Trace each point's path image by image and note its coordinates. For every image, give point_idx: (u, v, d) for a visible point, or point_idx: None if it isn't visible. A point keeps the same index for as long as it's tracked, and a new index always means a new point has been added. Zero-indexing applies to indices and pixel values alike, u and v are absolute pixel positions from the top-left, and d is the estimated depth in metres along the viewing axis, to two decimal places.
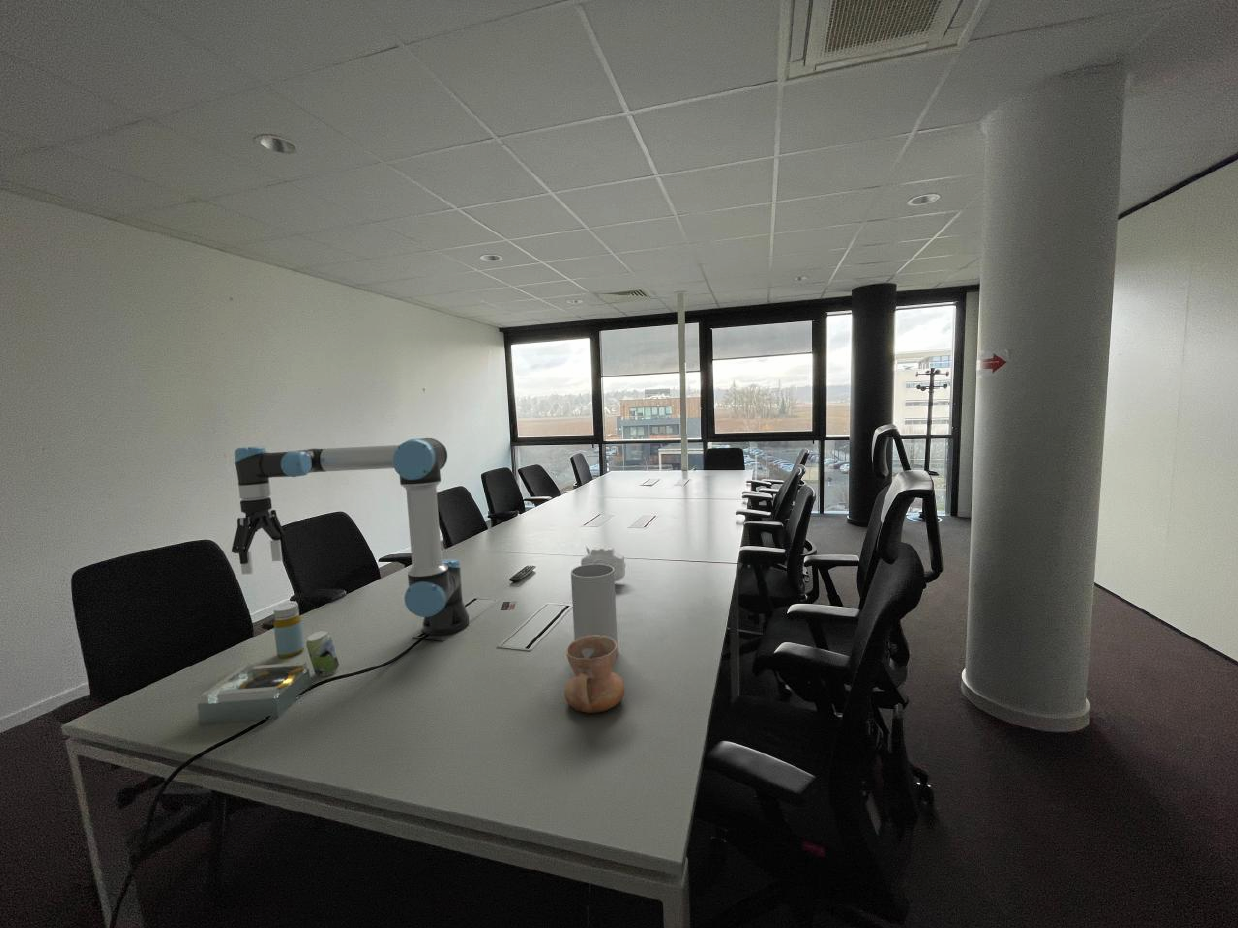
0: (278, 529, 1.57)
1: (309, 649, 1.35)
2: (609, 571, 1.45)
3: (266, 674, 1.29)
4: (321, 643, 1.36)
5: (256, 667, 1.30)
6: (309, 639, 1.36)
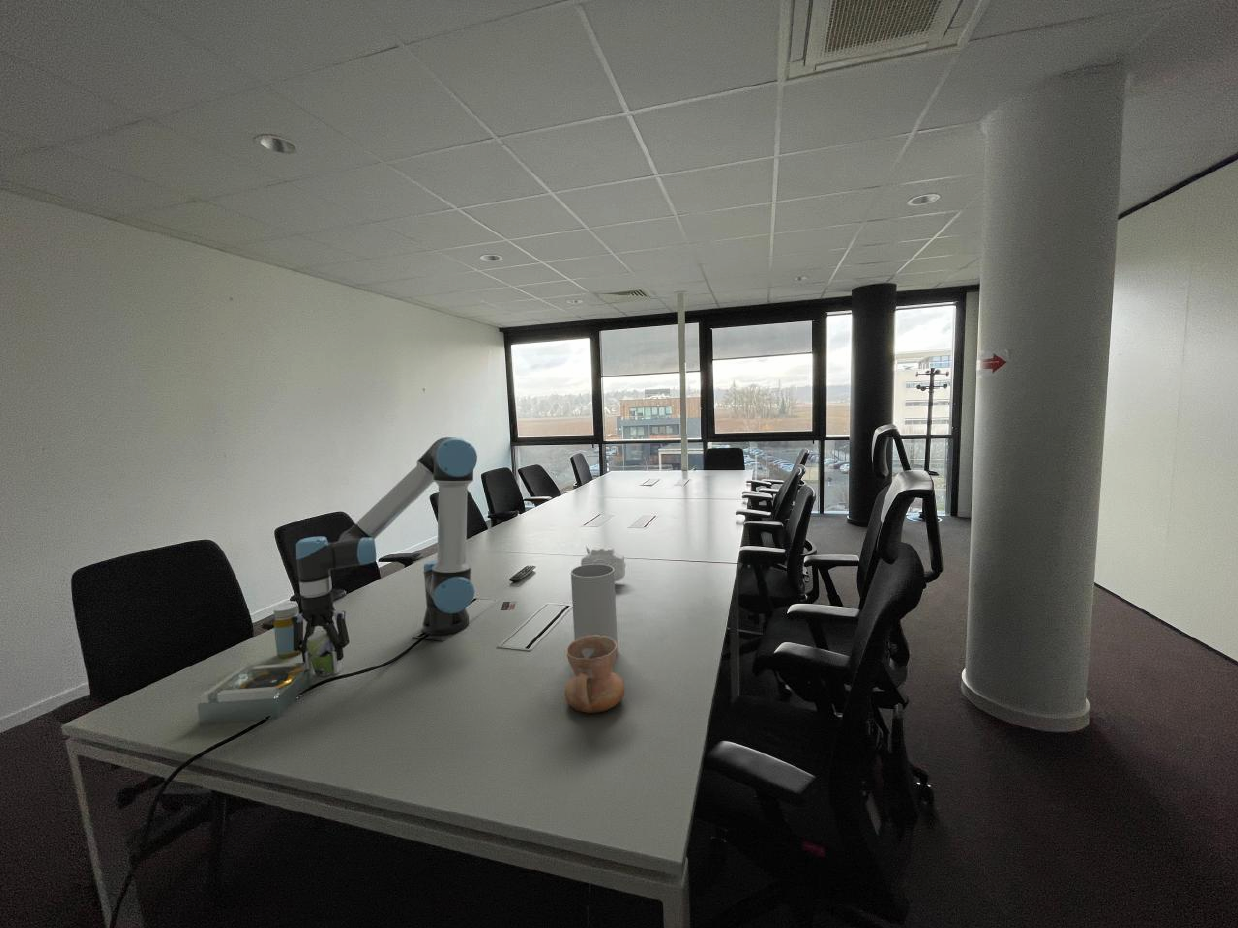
0: None
1: (309, 649, 1.35)
2: (609, 571, 1.45)
3: (266, 674, 1.29)
4: (321, 643, 1.36)
5: (256, 667, 1.30)
6: (309, 639, 1.36)
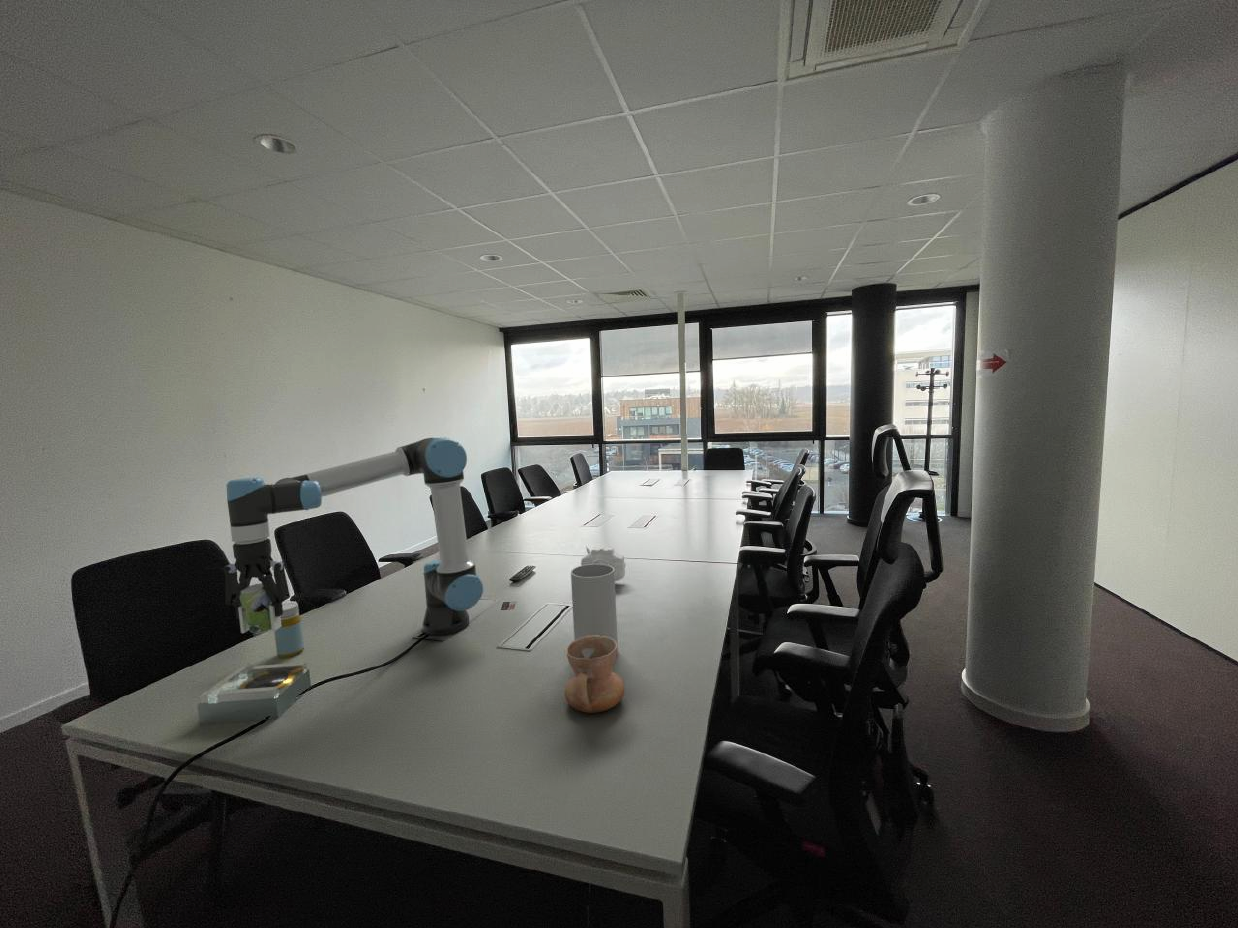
0: None
1: (242, 603, 1.21)
2: (609, 571, 1.45)
3: (266, 674, 1.29)
4: (256, 596, 1.21)
5: (256, 667, 1.30)
6: (242, 591, 1.21)
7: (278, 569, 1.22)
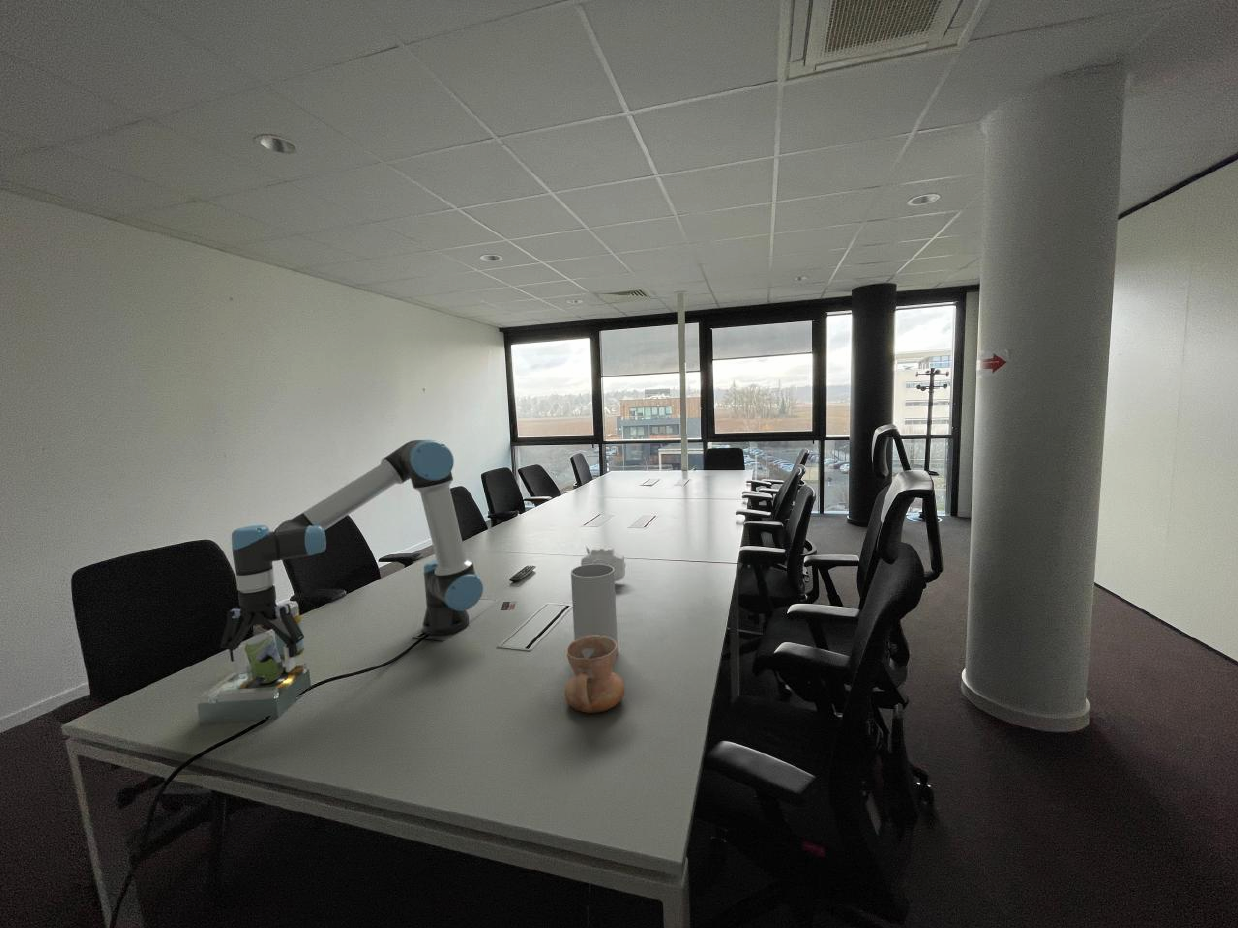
0: None
1: (248, 654, 1.21)
2: (609, 571, 1.45)
3: None
4: (261, 647, 1.22)
5: None
6: (248, 643, 1.22)
7: (284, 612, 1.23)
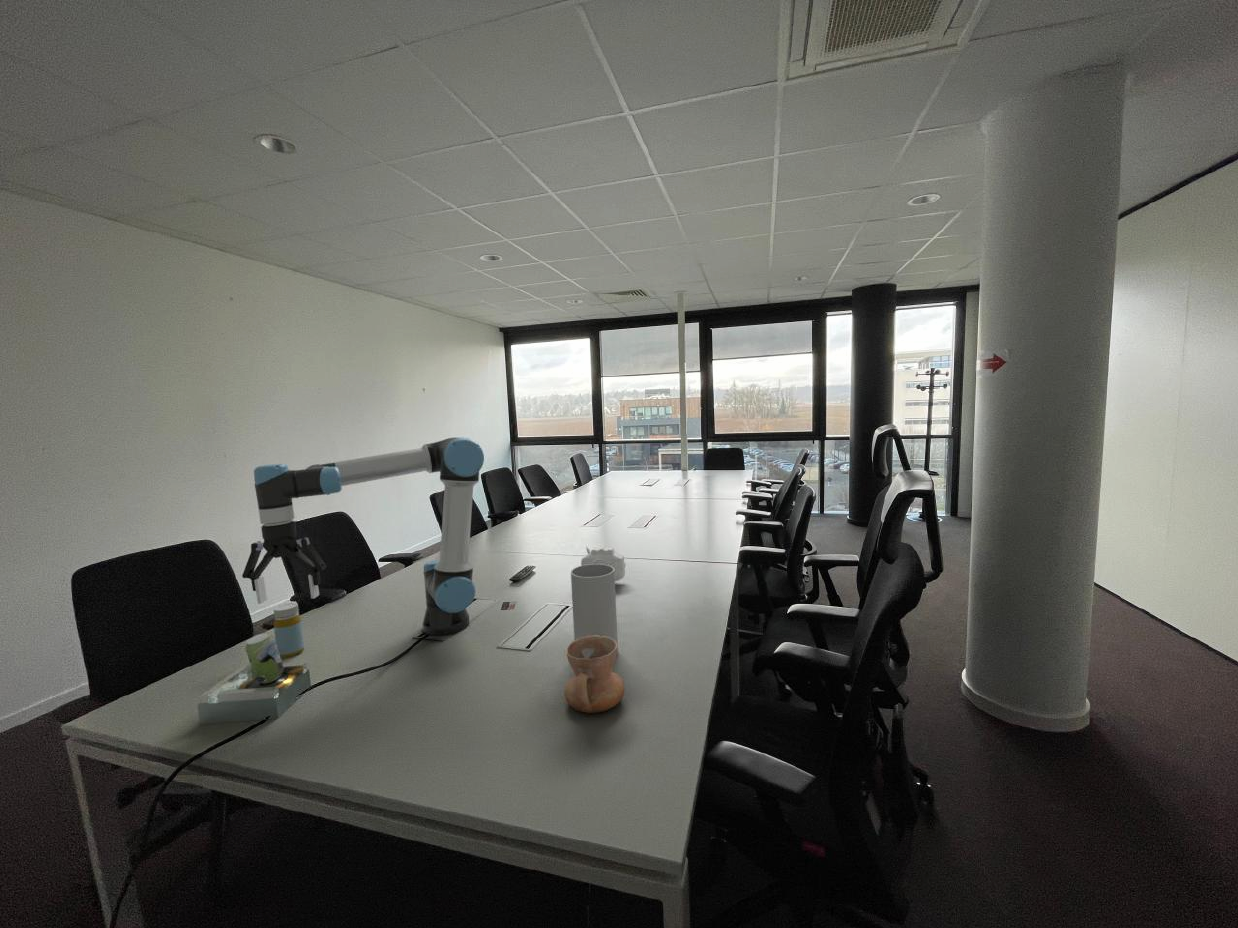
0: None
1: (248, 653, 1.22)
2: (609, 571, 1.45)
3: None
4: (262, 647, 1.22)
5: None
6: (248, 642, 1.22)
7: (305, 543, 1.31)
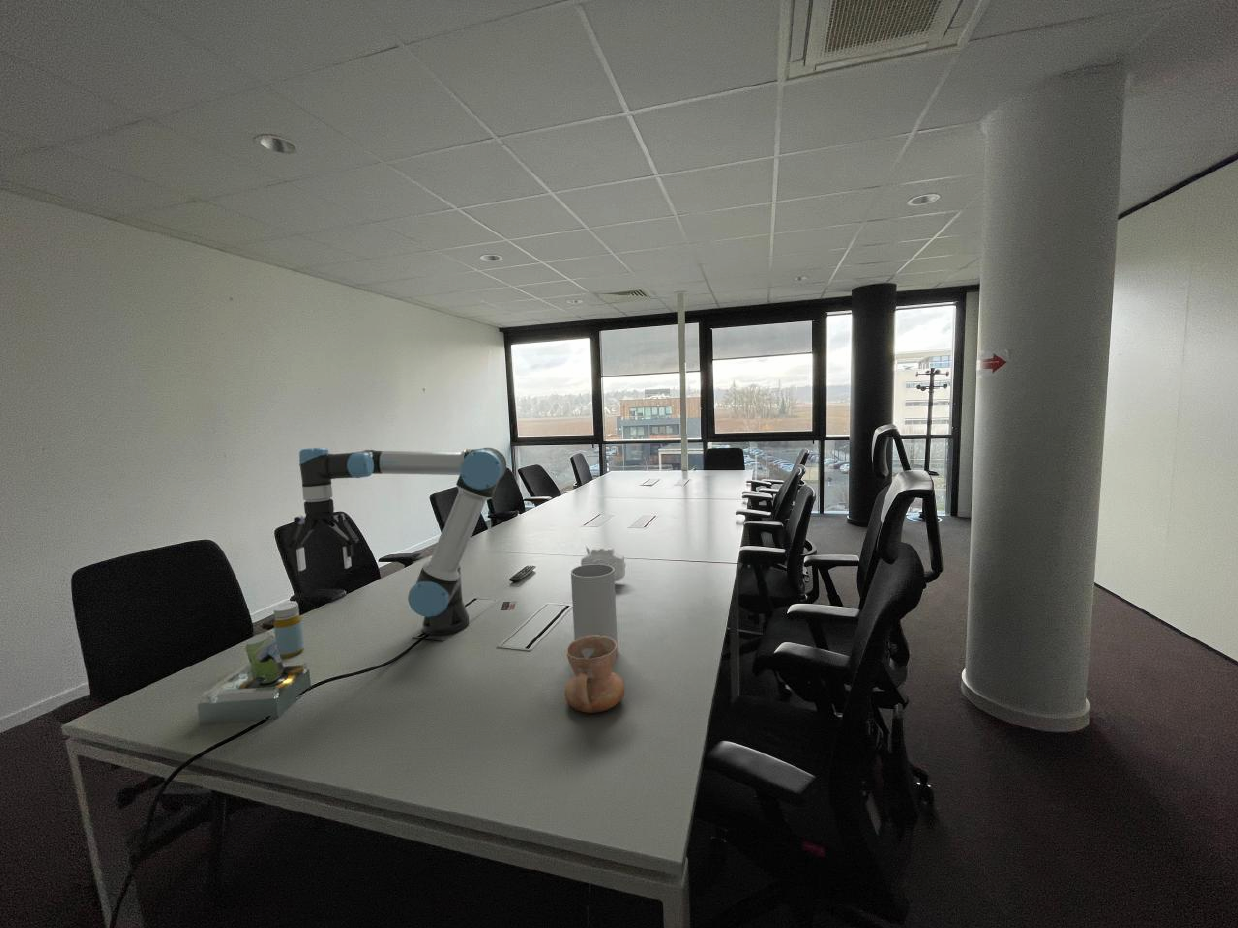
0: None
1: (248, 653, 1.22)
2: (609, 571, 1.45)
3: None
4: (262, 647, 1.22)
5: None
6: (248, 642, 1.22)
7: (341, 519, 1.47)
